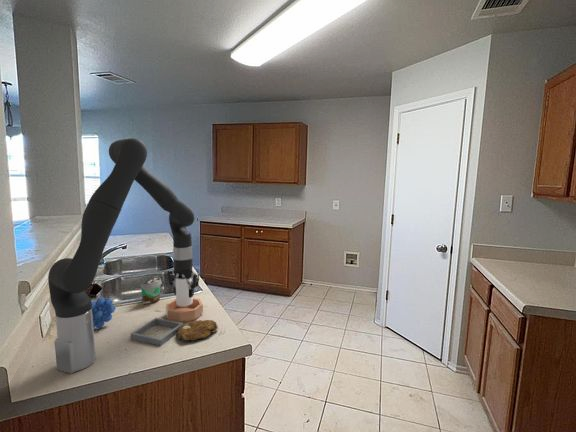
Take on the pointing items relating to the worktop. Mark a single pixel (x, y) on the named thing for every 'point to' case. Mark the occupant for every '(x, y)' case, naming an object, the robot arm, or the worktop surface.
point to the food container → (151, 291)
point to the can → (183, 292)
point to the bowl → (184, 311)
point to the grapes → (102, 312)
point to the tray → (153, 340)
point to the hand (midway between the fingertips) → (183, 295)
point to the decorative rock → (196, 330)
